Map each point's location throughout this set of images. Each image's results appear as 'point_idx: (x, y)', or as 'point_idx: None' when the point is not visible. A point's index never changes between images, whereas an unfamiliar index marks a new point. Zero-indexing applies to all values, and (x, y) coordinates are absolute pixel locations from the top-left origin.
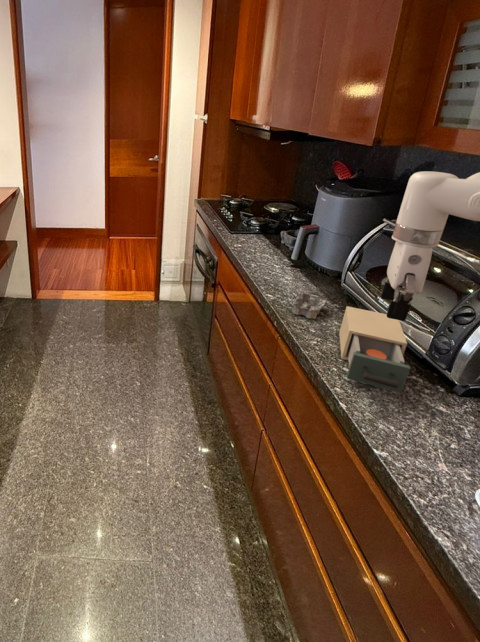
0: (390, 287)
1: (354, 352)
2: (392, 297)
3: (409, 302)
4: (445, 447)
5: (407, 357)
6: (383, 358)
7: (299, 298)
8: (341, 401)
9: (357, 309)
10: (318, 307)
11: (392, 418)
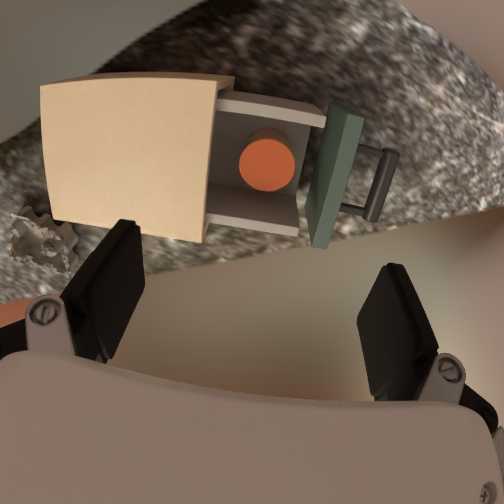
0: (113, 329)
1: (315, 247)
2: (135, 260)
3: (458, 379)
4: (467, 93)
5: (144, 37)
6: (287, 153)
7: (35, 262)
8: (382, 230)
9: (54, 194)
10: (46, 232)
11: (416, 151)
